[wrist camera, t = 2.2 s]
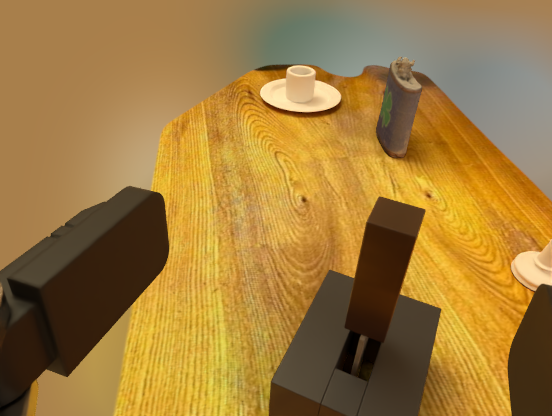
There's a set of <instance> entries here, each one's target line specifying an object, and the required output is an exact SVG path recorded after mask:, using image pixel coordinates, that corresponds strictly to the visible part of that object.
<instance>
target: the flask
mask: <svg viewBox="0 0 552 416" xmlns="http://www.w3.org/2000/svg"><path fill="white" fill-rule="evenodd" d="M401 58H402V57H399V58H398V59H397V61H393V62H392V63H391V65H390V69H389V75H388V79H387V84H386V89H385V93H384V98H383V102H382V107H381V112H380V116H379V120H378V123H377V127H376V133H377V134H376V135H377V138H378V139H379V142H380V144H381V146H382V147H383V149H384V151H385V152H386V153H387V154H388V155H390V157H394V158H397V156H398V157H402V158H403V157H404V155H405V154H406V151H407V146H408V142H409V137H410V133H411V129H412V125H413V121H414V117H415V113H416V110H417V106H418V102H419V98H420V95H421V91H422V86H421V85H420V84H419V83H418V82H417V81H416V80H415V78H414V77H413V75H412V73H411V70H412V69H411V66H413V65H414V62H415V61H414V60H413V61H412V62H409V60H408V59H407V58H404V59H402V61H401ZM395 154H396V155H397V156H396V155H395Z"/></svg>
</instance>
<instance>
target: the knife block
mask: <svg viewBox="0 0 552 416" xmlns="http://www.w3.org/2000/svg"><path fill="white" fill-rule="evenodd" d="M353 283H354V278H352V277H349V276H346V275H343V274H340V273H338V272H335V271H332V270H329V271H328V273H327V275H326V277H325V279H324V281H323V283H322V285H321V287H320V288H319V290H318V292H317V294H316V296H315V298H314V300H313V302H312V304H311V306H310V308H309V310H308V311H307V313H306V315H305V317H304V319H303V321H302V323H301V325H300V327H299V329H298V331H297V333H296V335H295V336H294V338H293V340H292V342H291V344H290V346H289V348H288V350H287V352H286V354H285V356H284V358H283V359H282V361H281V363H280V365H279V367H278V369H277V371H276V373H275V375H274V377H273V379H272V381H271V389H270V403H269V416H418V414H419V409H420V405H421V400H422V396H423V391H424V386H425V382H426V377H427V373H428V368H429V363H430V359H431V354H432V350H433V345H434V341H435V336H436V331H437V327H438V322H439V318H440V313H441V309H440V308H438V307H435V306H432V305H429V304H426V303H423V302H420V301H417V300H415V299H412V298H409V297H406V296H403V295H399V298H398V301H397V305H396V308H395V311H394V314H393V317H392V321H391V324H390V327H389V330H388V333H387V336H386V339H385V342H384V343H382V342H379V341H376V340H374V339H371V338H369V339H368V342H367V346H366V350H365V354H364V357H363V359H366V360H368V361H371V362H373V363H374V366H373V369H372V372H371V375H370V378H369V381H368V382H367V381H365V380H363V379H360V378H358V377H355V376H353V375H351V374H348V373H346V372H343V371H342V369H343V366H344V364H345V361H346V359H347V356H348V353H351V354H353V355H356V351H357V347H358V343H359V339H360V336H361V334H358V333H356V332H353V331H350V330H348V329H345V328H344V324H345V320H346V315H347V310H348V306H349V301H350V296H351V292H352V287H353Z"/></svg>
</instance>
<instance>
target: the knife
mask: <svg viewBox="0 0 552 416" xmlns="http://www.w3.org/2000/svg"><path fill="white" fill-rule="evenodd" d="M424 214H425V209H422V208H418V207H415V206H411V205H408V204H404V203H401V202H397V201H394V200H390V199H387V198H384V197H378V199H377V201H376V203H375V206H374V208H373V210H372V212H371V214H370V216H369V218H368V220H367V222H366V227H365V231H364V236H363V241H362V245H361V250H360V255H359V259H358V264H357V269H356V273H355V278H354V283H353V287H352V292H351V296H350V301H349V306H348V310H347V315H346V320H345V324H344V328H345V329H348V330H350V331H353V332H356V333H358V334H361V336H360V339H359V343H358V347H357V351H356V355H355V359H354V363H353V366H352V370H351V375H353V376H355V377H358V374H359V372H360V368H361V365H362V361H363V357H364V354H365V350H366V346H367V342H368V339H369V338H371V339H374V340H376V341H379V342H382V343H384V342H385V339H386V336H387V333H388V330H389V327H390V324H391V321H392V317H393V314H394V311H395V308H396V305H397V301H398V298H399V295H400V292H401V289H402V285H403V282H404V279H405V276H406V272H407V269H408V266H409V263H410V260H411V256H412V253H413V250H414V247H415V243H416V240H417V237H418V234H419V230H420V227H421V224H422V221H423V218H424Z"/></svg>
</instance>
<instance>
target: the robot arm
mask: <svg viewBox="0 0 552 416" xmlns="http://www.w3.org/2000/svg"><path fill="white" fill-rule="evenodd" d="M168 254H169V241H168V231H167V221H166V211H165V202H164V198H163V196H162V195H161V194H160V193H158V192H153V191H149V190H145V189H141V188H136V187H132V186H129V187H126V188H124V189H123V190H121V191H120V192H119V193H117V194H116V195H115V196H114V197H112V198H111V199H109V200H108V201H107V202H102V203H100V204H97V205H95V206H92V207H90V208H88V209H85V210H83V211H81V212H80V213H78V214H77V215H76V216H74V217H73V218H72V219H71V220H69V221H68V222H66V223H65V226H61V227H59V228H58V229H57V230H55V231H54V232H53V233H51V236H50V237H46V238H44V239H43V240H42V241H40V242H39V243H38V244H36V245H35V246H33V247H32V248H31V249H30V250H28V251H27V252H25V253H24V254H23V255H21V256H20V257H18V258H17V259H16V260H15V261H13V262H12V263H10V264H9V265H8V266H6V267H5V268H4V269H2V270H1V271H0V416H35V412H36V405H37V397H38V382H37V380H36V379H37V378H38V377H39V376H40V375H41V374H42V373H43V372H44V371H45V370H46V369H47V370H50V371H52V372H55V373H58V374H60V375H63V376H66V377H68V376H69V375H70V374H71V372H72V371H73V370H74V369H75V368H76V367H77V366H78V365H79V363H80V362H81V361H82V360H83V359H84V358H85V357H86V356H87V354H88V353H89V352H90V351H91V350H92V349H93V348H94V346H95V345H96V344H97V343H98V342H99V341H100V340H101V339H102V337H103V336H104V335H105V334H106V333H107V332H108V331H109V330H110V329H111V327H112V326H113V325H114V324H115V323H116V322H117V321H118V319H119V318H120V317H121V316H122V315H123V314H124V313H125V311H127V309H128V308H129V307H130V306H131V305H132V304H133V303H134V302H135V301H136V299H137V298H138V297H139V296H140V295H141V294H142V293H143V292H144V290H145V289H146V288H147V287H148V286H149V285H150V284H151V283H152V281H153V280H154V279H155V278H156V277H157V276H158V275H159V274H160V272H161V271H162V270H163V268H164V266H165V264H166V261H167V258H168ZM508 379H509V390H510V401H511V412H512V416H552V285H547V284H541V285H540V286H539V287H538V288H537V290H536V291H535V293H534V296H533V298H532V300H531V302H530V304H529V306H528V309H527V311H526V313H525V315H524V317H523V319H522V322H521V324H520V326H519V328H518V330H517V333H516V335H515V337H514V339H513V342H512V345H511V348H510V353H509V359H508Z"/></svg>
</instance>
